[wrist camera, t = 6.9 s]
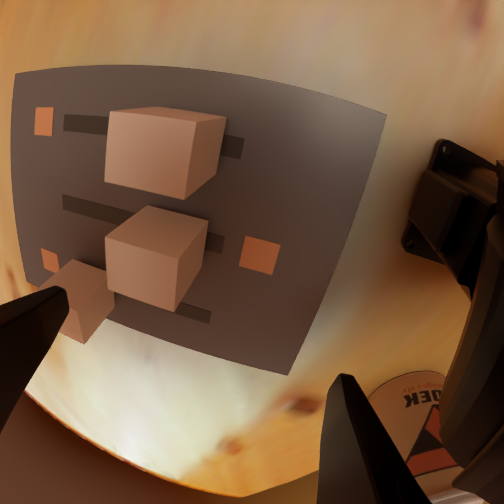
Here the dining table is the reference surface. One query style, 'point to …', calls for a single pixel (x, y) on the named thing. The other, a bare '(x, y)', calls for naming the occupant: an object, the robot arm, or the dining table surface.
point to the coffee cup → (420, 433)
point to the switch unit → (199, 197)
